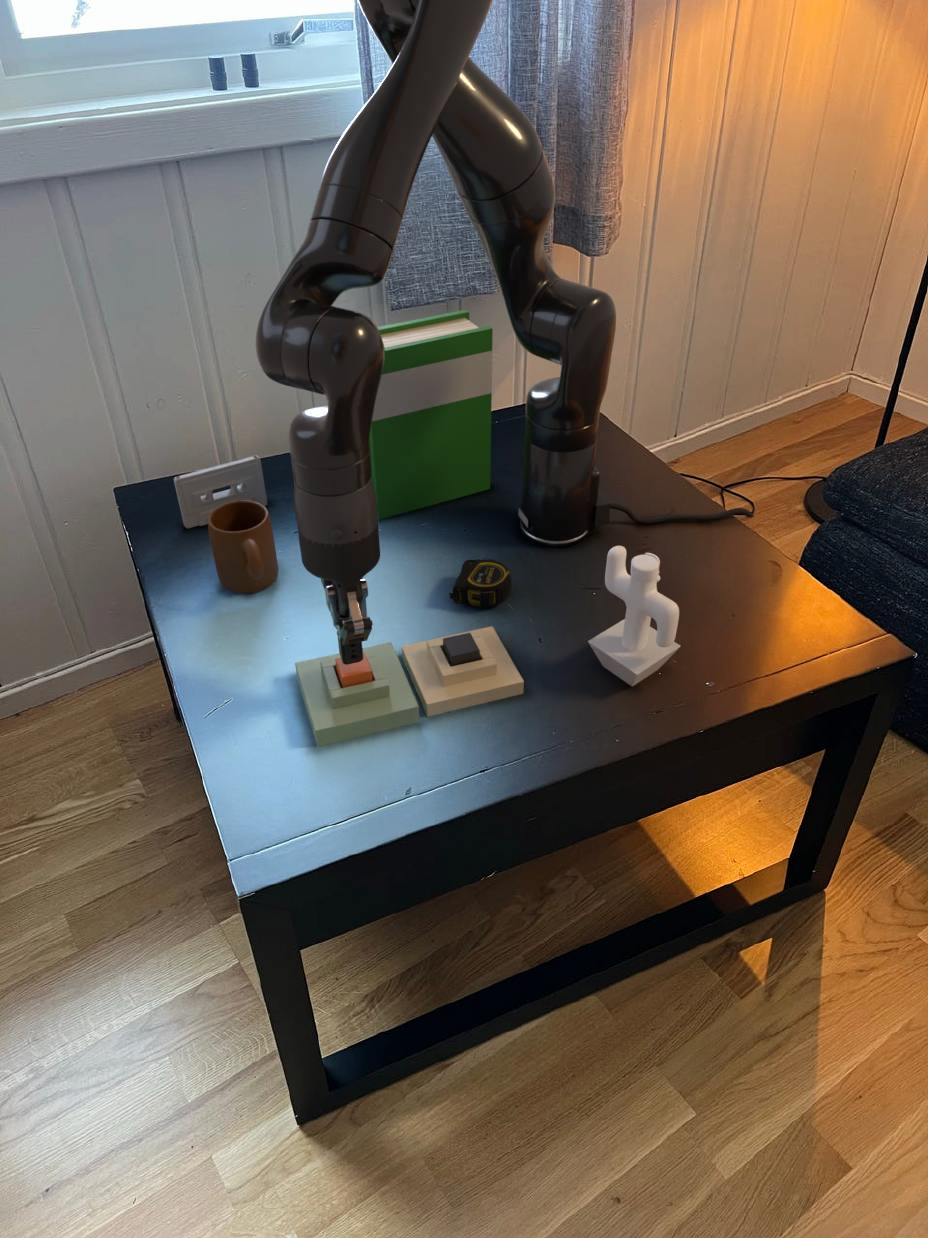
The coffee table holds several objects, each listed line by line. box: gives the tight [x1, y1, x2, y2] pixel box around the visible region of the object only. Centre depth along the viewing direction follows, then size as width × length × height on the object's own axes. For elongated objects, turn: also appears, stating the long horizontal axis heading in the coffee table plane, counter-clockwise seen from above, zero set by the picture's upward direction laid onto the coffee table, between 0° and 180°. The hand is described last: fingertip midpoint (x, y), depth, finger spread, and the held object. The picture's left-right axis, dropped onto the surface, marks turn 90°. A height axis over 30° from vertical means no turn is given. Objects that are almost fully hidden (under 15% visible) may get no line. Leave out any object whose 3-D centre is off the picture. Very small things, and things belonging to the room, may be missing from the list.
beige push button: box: [400, 625, 525, 717], centre depth 103 cm, size 11×10×4 cm
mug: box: [207, 500, 279, 595], centre depth 114 cm, size 12×8×9 cm, turn 24°
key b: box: [335, 652, 372, 688], centre depth 99 cm, size 3×3×2 cm
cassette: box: [173, 455, 268, 529], centre depth 128 cm, size 12×2×8 cm, turn 121°
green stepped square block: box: [294, 641, 420, 748], centre depth 100 cm, size 11×11×4 cm
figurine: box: [587, 545, 682, 687], centre depth 101 cm, size 7×9×15 cm
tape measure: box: [448, 558, 513, 608], centre depth 114 cm, size 7×7×4 cm
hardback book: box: [369, 309, 493, 521], centre depth 127 cm, size 18×7×24 cm, turn 118°
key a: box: [443, 633, 480, 666], centre depth 102 cm, size 3×3×2 cm
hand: (351, 658), depth 98 cm, fingers closed
